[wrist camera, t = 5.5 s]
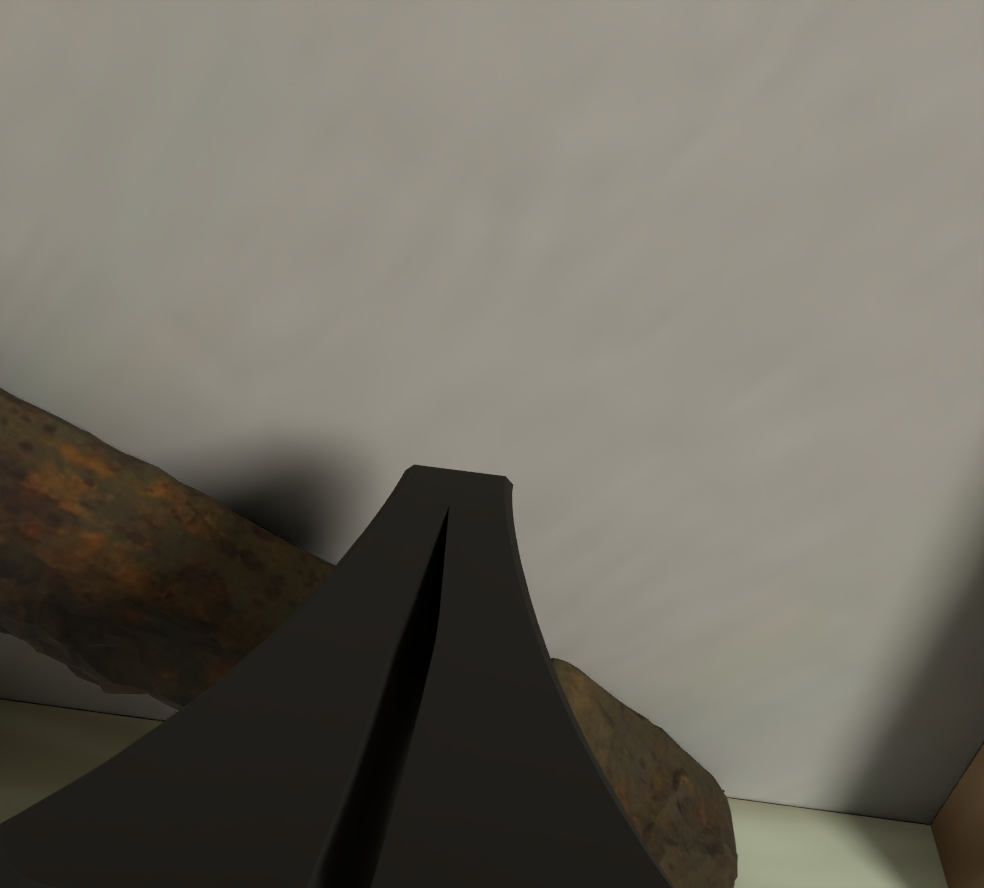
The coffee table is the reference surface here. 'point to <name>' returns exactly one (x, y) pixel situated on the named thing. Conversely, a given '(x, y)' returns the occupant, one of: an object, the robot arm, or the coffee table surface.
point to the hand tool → (250, 614)
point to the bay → (757, 826)
